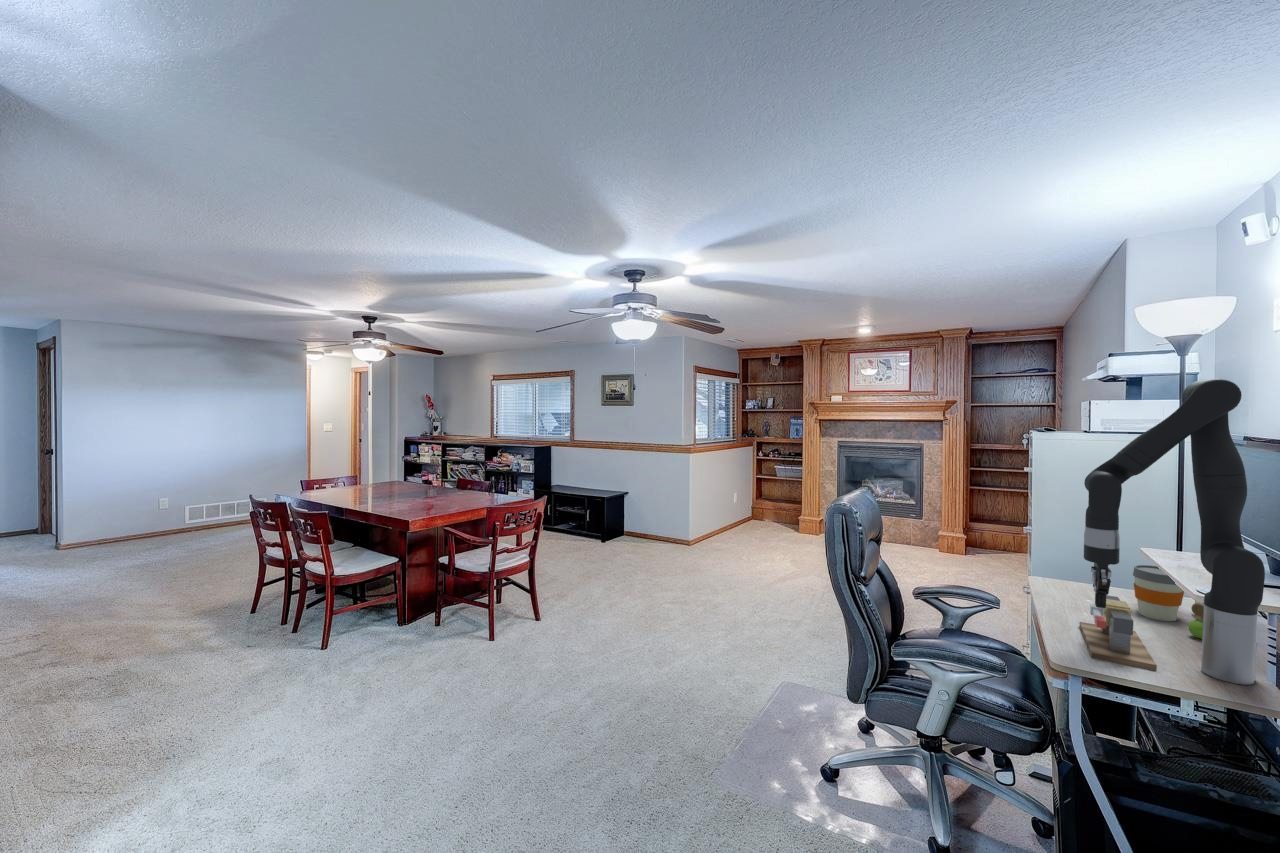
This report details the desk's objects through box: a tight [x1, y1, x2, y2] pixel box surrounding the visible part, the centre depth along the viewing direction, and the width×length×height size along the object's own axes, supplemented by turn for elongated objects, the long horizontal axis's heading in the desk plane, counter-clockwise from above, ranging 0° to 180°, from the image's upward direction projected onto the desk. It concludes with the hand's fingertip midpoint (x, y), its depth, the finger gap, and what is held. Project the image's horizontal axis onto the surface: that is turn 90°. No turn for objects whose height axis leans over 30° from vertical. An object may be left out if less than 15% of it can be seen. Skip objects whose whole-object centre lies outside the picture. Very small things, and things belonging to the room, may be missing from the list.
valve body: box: [1101, 594, 1134, 654], centre depth 156 cm, size 22×5×11 cm, turn 147°
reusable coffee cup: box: [1132, 564, 1185, 622], centre depth 180 cm, size 12×13×15 cm
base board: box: [1078, 621, 1158, 672], centre depth 156 cm, size 26×13×2 cm, turn 147°
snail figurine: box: [1187, 602, 1204, 640], centre depth 162 cm, size 5×6×12 cm
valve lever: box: [1089, 603, 1106, 629], centre depth 154 cm, size 2×3×13 cm
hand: (1100, 606), depth 152 cm, fingers closed
